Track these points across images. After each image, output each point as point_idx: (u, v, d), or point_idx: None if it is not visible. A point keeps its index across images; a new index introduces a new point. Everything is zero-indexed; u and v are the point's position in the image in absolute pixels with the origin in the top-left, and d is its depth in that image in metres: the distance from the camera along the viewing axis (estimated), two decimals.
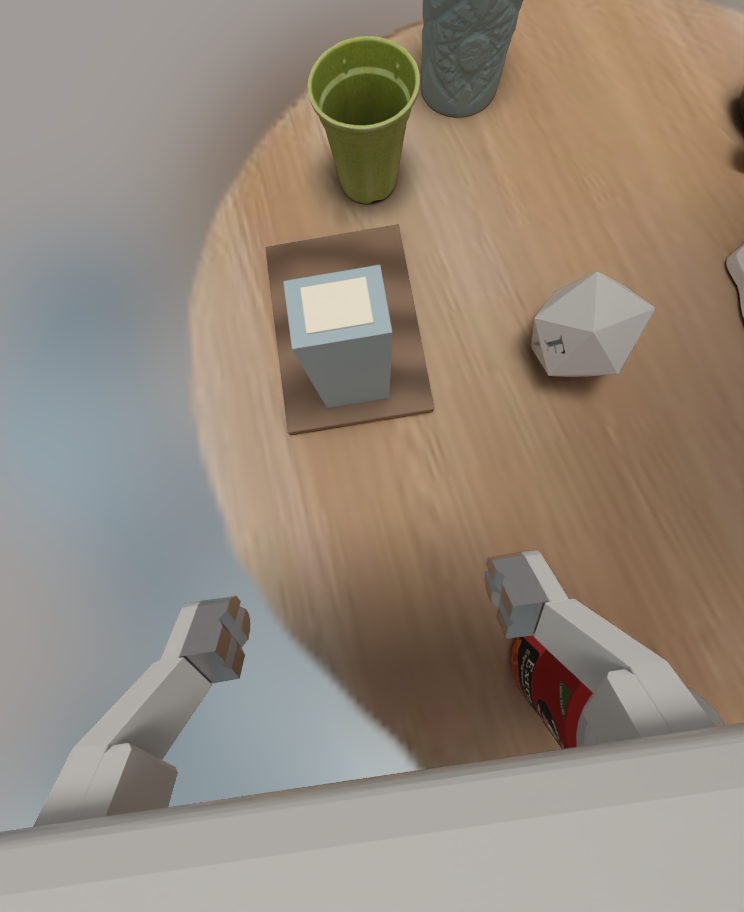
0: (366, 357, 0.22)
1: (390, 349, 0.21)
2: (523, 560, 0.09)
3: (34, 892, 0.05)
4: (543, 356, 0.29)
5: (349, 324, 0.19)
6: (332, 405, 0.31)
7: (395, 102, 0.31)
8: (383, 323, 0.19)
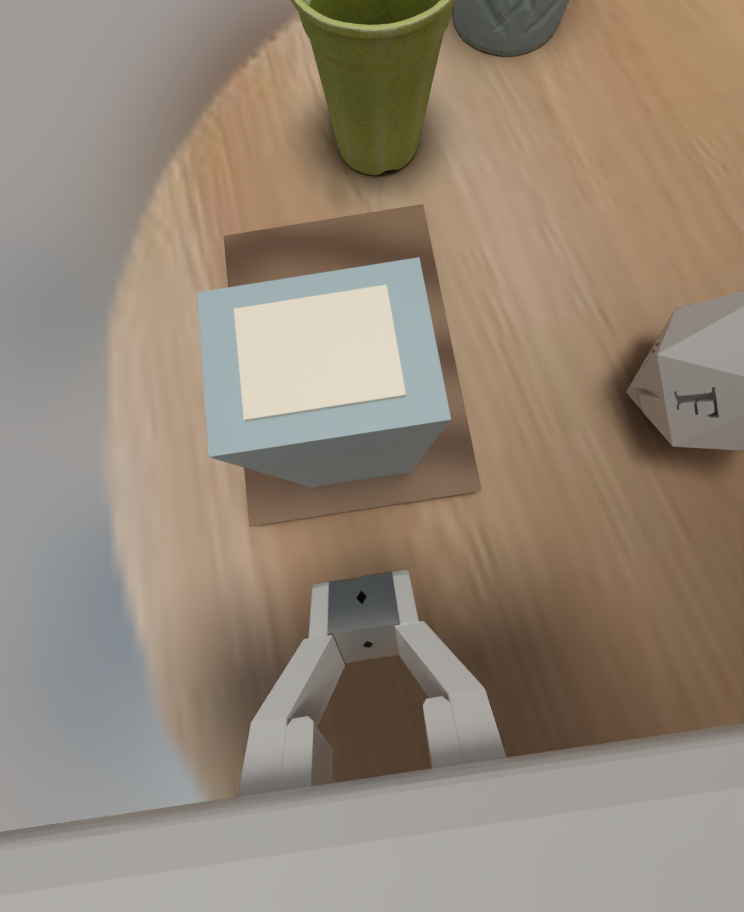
0: (382, 449, 0.11)
1: (434, 438, 0.10)
2: (390, 580, 0.10)
3: (34, 892, 0.05)
4: (666, 416, 0.18)
5: (348, 399, 0.08)
6: (319, 485, 0.19)
7: (423, 11, 0.20)
8: (429, 396, 0.08)
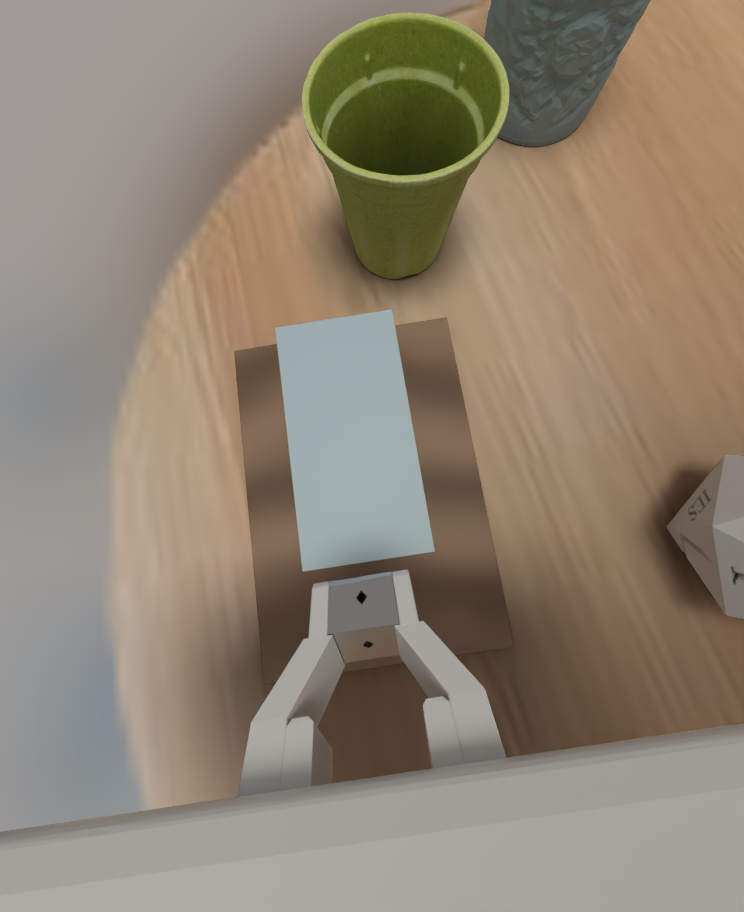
0: (367, 365, 0.16)
1: (397, 348, 0.16)
2: (389, 580, 0.10)
3: (34, 892, 0.05)
4: (719, 584, 0.16)
5: None
6: (313, 556, 0.15)
7: (451, 127, 0.18)
8: None
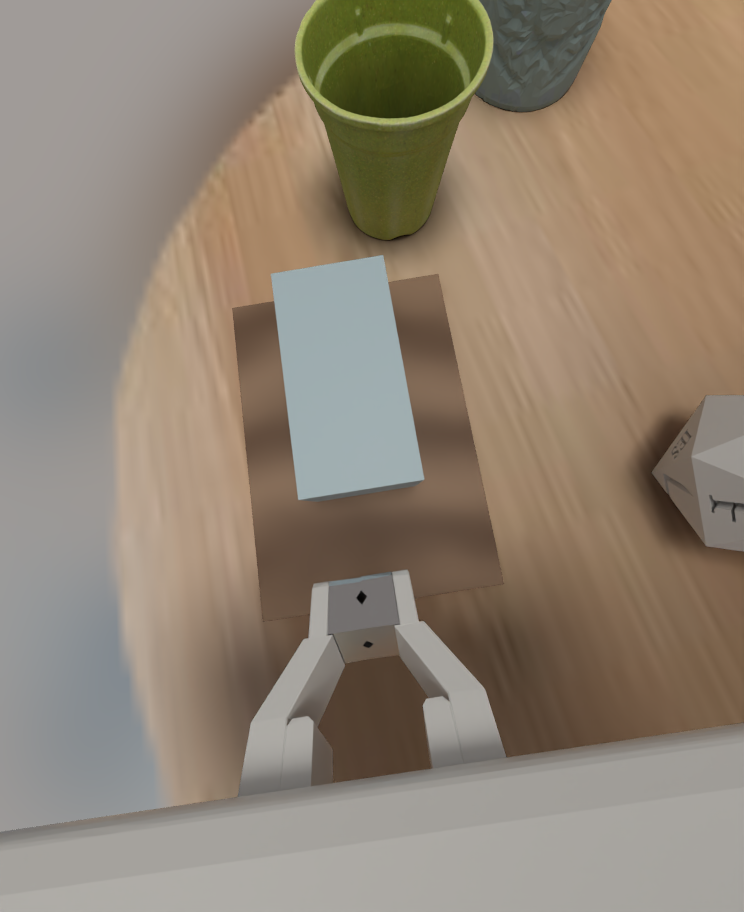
0: (359, 307, 0.17)
1: (388, 291, 0.17)
2: (390, 580, 0.10)
3: (34, 892, 0.05)
4: (700, 515, 0.17)
5: None
6: (308, 485, 0.16)
7: (439, 84, 0.19)
8: None
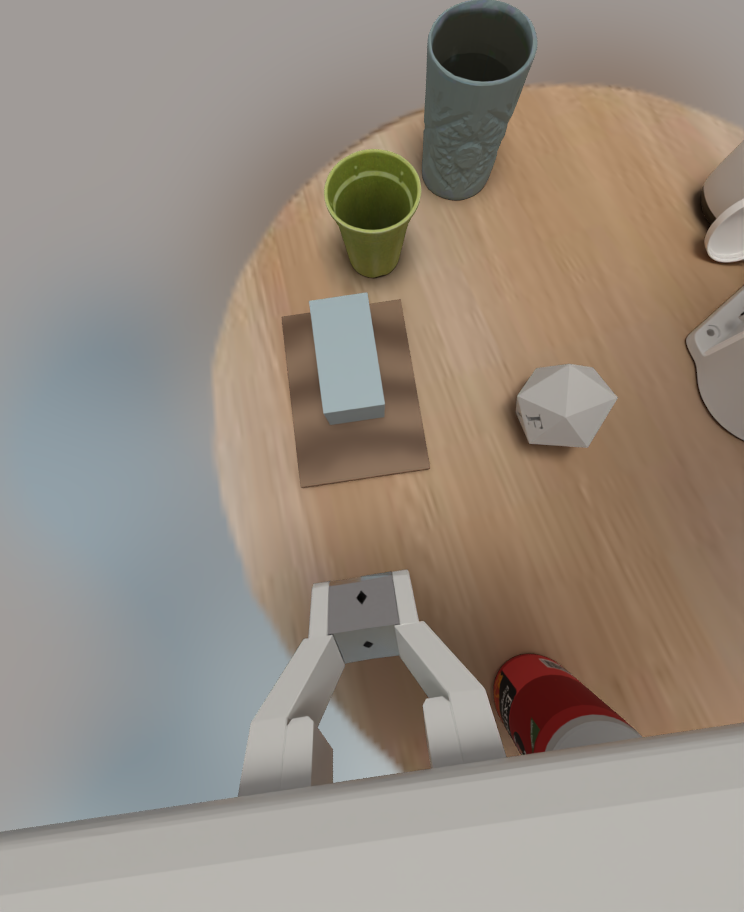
0: (354, 319, 0.33)
1: (369, 311, 0.33)
2: (390, 580, 0.10)
3: (34, 892, 0.05)
4: (525, 427, 0.33)
5: None
6: (328, 406, 0.32)
7: (399, 198, 0.35)
8: None
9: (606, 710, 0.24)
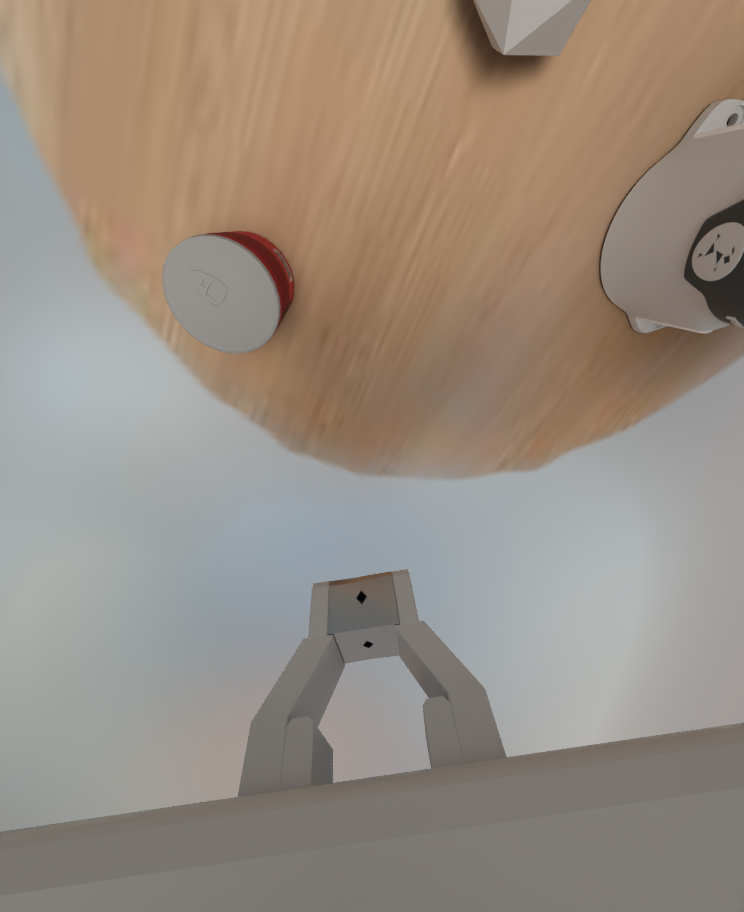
0: None
1: None
2: (390, 580, 0.10)
3: (34, 892, 0.05)
4: None
5: None
6: None
7: None
8: None
9: (271, 270, 0.24)
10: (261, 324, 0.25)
